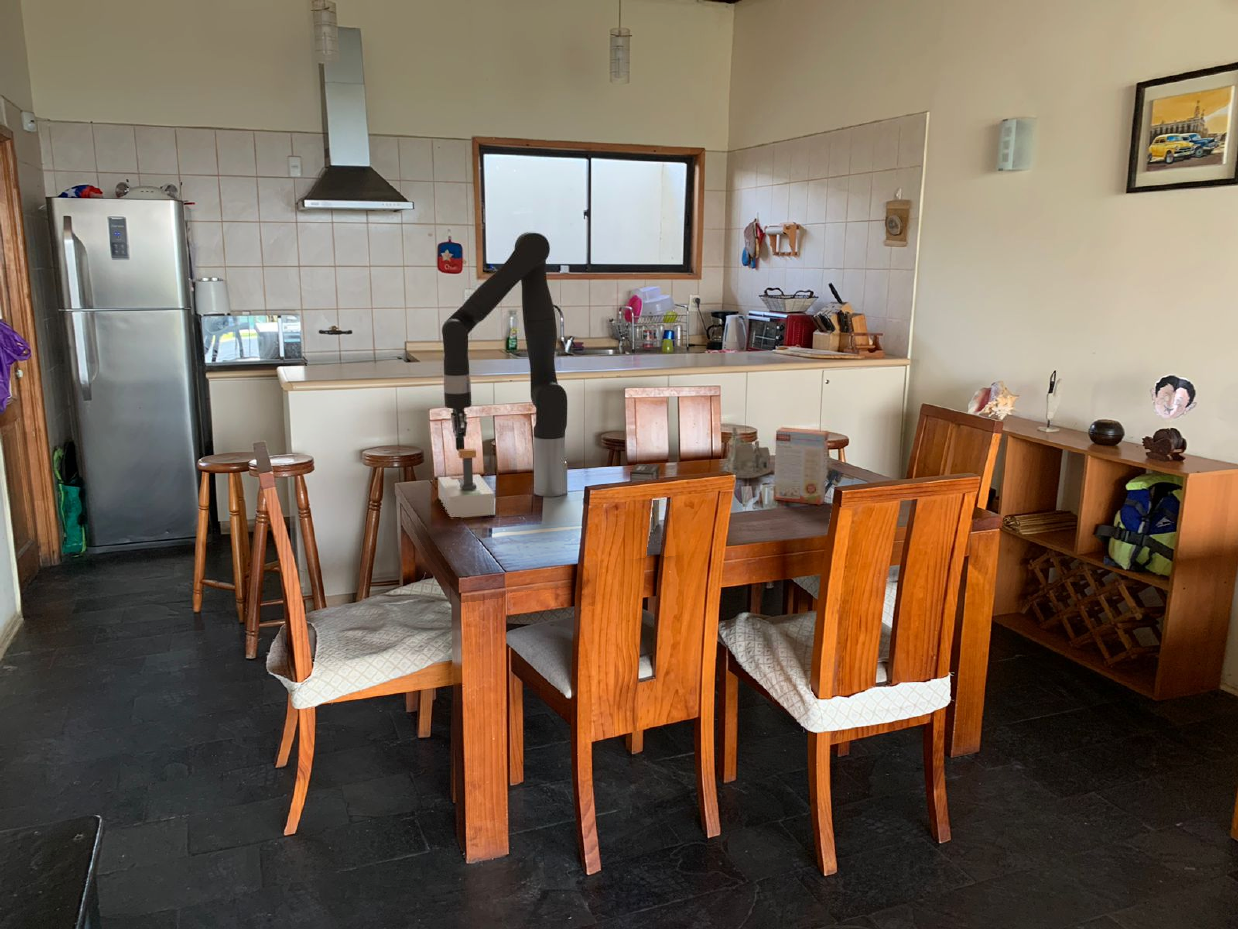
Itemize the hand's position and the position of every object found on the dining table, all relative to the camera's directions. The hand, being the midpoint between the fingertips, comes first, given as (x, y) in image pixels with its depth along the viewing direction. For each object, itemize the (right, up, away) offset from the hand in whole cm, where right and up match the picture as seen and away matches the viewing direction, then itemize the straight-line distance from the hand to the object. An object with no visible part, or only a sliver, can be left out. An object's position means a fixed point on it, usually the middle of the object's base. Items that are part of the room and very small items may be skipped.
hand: (460, 450), depth 266 cm
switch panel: (+2, -16, -5) cm, 17 cm away
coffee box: (+52, -21, -23) cm, 61 cm away
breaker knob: (+4, -11, -11) cm, 16 cm away
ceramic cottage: (+88, -7, +37) cm, 95 cm away
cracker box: (+98, -15, +4) cm, 99 cm away
